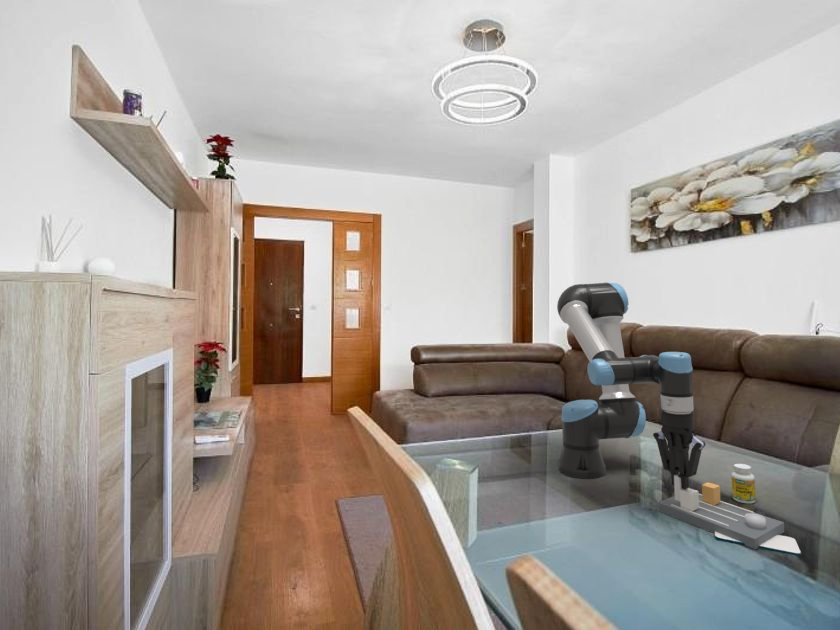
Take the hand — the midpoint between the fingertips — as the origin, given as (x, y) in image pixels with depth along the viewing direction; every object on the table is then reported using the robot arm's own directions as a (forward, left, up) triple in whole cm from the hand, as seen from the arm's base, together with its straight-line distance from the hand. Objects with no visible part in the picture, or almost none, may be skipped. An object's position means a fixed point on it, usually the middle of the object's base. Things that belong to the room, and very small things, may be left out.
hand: (680, 499), depth 119 cm
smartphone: (+16, +2, -5) cm, 17 cm away
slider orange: (+4, +8, -1) cm, 9 cm away
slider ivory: (+2, 0, -1) cm, 3 cm away
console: (+7, +4, -4) cm, 9 cm away
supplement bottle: (+5, +22, -4) cm, 23 cm away
